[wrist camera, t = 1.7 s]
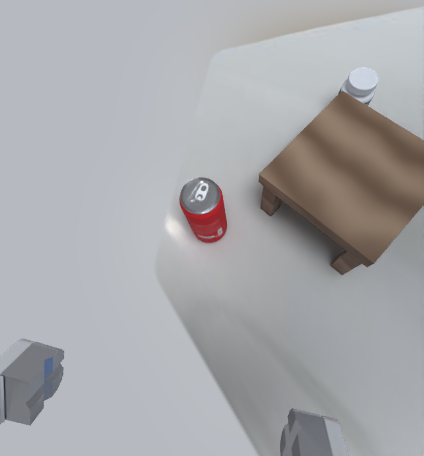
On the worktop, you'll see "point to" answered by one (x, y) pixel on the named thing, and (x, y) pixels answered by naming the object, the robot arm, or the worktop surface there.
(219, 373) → the worktop surface
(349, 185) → the walnut stool
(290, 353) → the worktop surface
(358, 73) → the pill bottle
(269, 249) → the worktop surface
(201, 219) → the beverage can
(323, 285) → the worktop surface
